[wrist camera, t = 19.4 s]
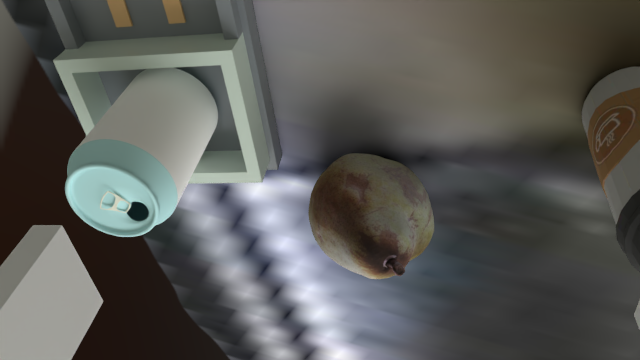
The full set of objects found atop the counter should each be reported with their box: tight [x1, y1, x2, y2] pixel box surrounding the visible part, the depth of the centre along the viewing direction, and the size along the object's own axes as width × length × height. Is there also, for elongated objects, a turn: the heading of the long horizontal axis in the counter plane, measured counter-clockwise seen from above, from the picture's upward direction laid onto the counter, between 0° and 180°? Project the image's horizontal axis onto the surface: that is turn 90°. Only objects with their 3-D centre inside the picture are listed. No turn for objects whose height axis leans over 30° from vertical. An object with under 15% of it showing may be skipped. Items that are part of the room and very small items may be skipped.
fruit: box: [309, 153, 434, 279], centre depth 43 cm, size 10×9×12 cm
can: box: [65, 68, 218, 237], centre depth 38 cm, size 7×7×12 cm
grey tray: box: [45, 0, 282, 183], centre depth 39 cm, size 22×14×5 cm, turn 7°
